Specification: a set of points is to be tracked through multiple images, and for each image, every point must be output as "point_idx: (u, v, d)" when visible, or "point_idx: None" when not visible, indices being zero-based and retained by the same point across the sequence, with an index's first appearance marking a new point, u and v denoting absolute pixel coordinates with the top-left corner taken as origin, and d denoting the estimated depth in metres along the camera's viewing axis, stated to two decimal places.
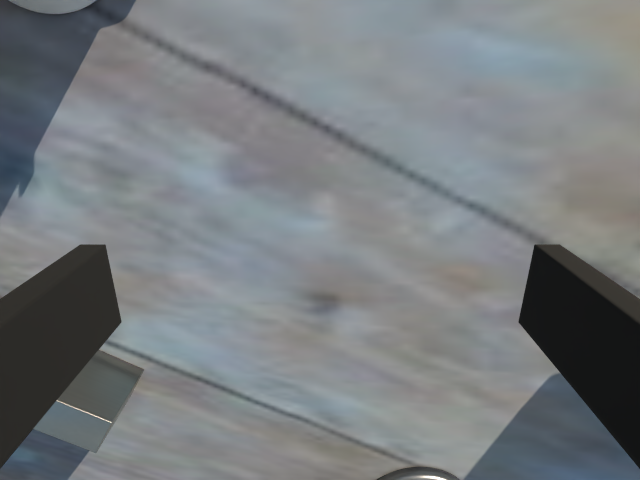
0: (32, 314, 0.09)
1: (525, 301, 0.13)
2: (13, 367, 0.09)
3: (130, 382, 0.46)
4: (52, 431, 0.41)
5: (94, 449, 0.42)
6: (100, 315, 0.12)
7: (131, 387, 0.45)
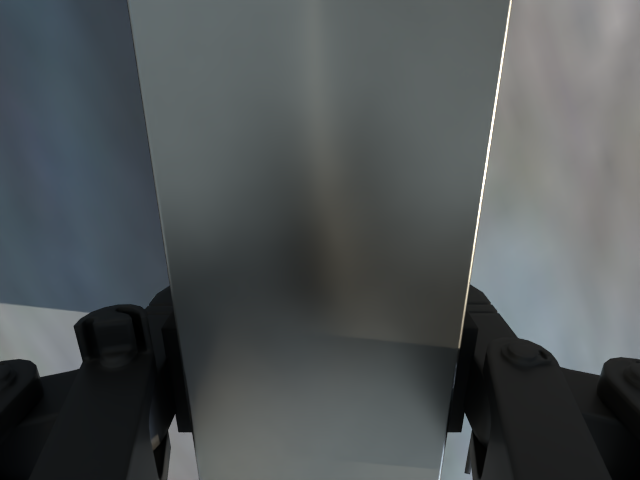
0: None
1: None
2: None
3: None
4: (221, 366, 0.07)
5: None
6: None
7: None
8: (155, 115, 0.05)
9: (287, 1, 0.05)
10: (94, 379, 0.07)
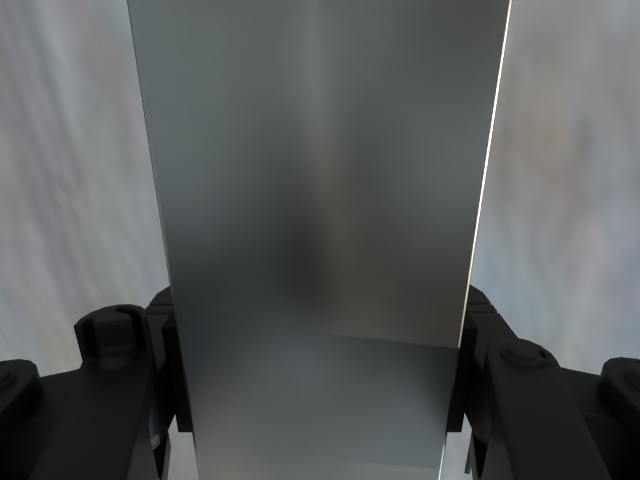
0: None
1: None
2: None
3: None
4: (220, 365, 0.07)
5: None
6: None
7: None
8: (155, 114, 0.05)
9: (287, 0, 0.05)
10: (94, 379, 0.07)
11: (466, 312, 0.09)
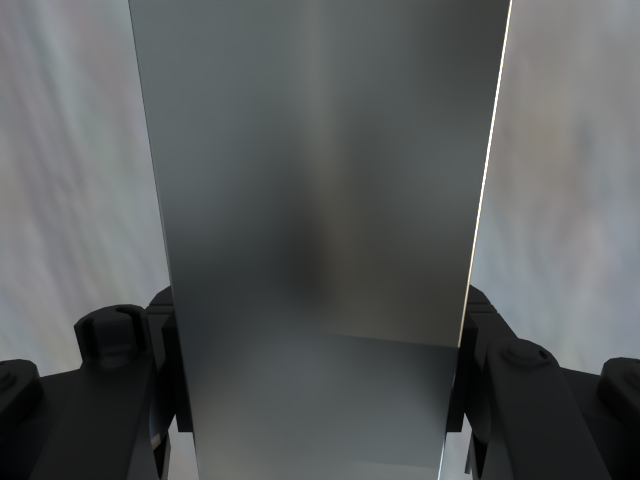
0: None
1: None
2: None
3: None
4: (221, 364, 0.07)
5: None
6: None
7: None
8: (156, 113, 0.05)
9: None
10: (94, 379, 0.07)
11: (466, 312, 0.09)
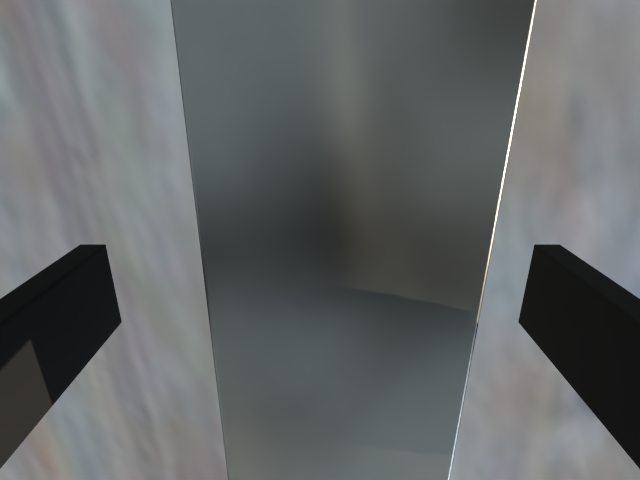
0: (32, 314, 0.09)
1: (525, 301, 0.13)
2: (13, 367, 0.09)
3: None
4: (245, 303, 0.07)
5: None
6: (100, 315, 0.12)
7: None
8: (186, 39, 0.05)
9: None
10: None
11: None
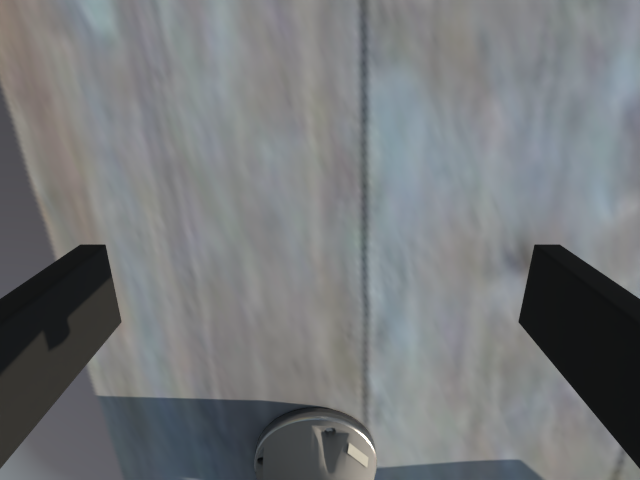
0: (32, 314, 0.09)
1: (525, 301, 0.13)
2: (13, 367, 0.09)
3: None
4: None
5: None
6: (100, 315, 0.12)
7: None
8: None
9: None
10: None
11: None
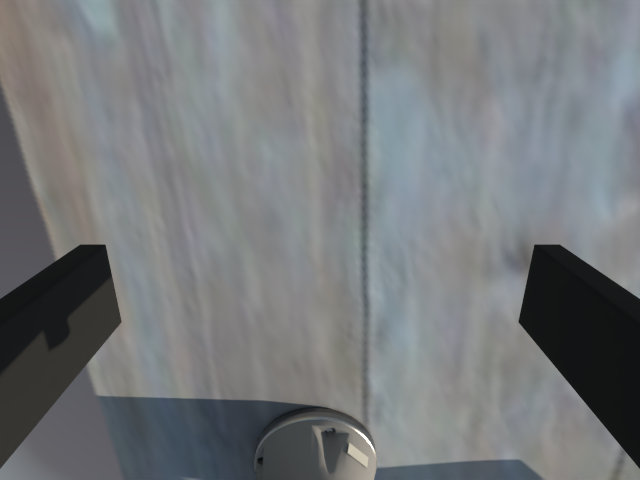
0: (32, 314, 0.09)
1: (525, 301, 0.13)
2: (13, 367, 0.09)
3: None
4: None
5: None
6: (100, 315, 0.12)
7: None
8: None
9: None
10: None
11: None
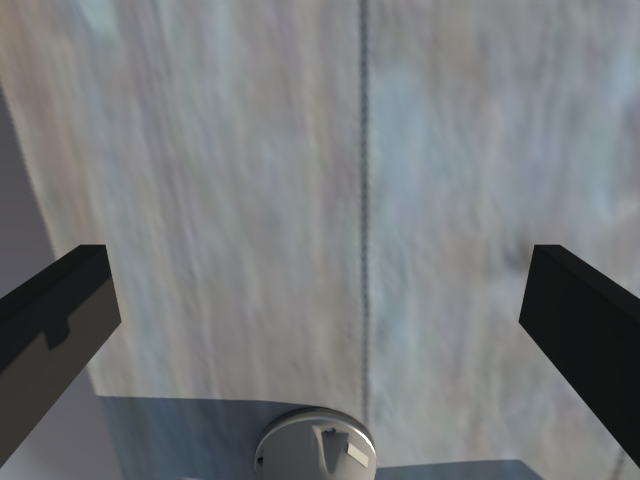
0: (32, 314, 0.09)
1: (525, 301, 0.13)
2: (13, 367, 0.09)
3: None
4: None
5: None
6: (100, 315, 0.12)
7: None
8: None
9: None
10: None
11: None
